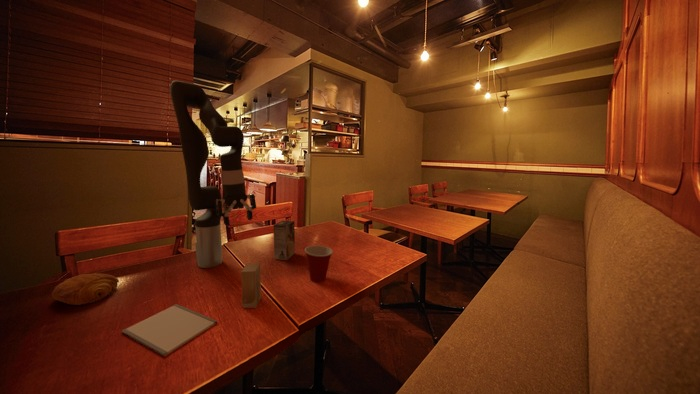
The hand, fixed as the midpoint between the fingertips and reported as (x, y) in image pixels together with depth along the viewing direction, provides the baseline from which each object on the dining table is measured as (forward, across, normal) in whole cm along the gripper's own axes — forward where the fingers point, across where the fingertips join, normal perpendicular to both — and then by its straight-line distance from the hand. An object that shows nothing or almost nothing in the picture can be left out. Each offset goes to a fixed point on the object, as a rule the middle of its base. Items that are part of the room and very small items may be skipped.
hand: (238, 222), depth 101 cm
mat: (+17, +30, +21) cm, 40 cm away
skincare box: (+19, +8, +24) cm, 32 cm away
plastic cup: (+22, -17, +26) cm, 38 cm away
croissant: (+17, +45, -16) cm, 51 cm away
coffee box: (+23, -20, -3) cm, 30 cm away
